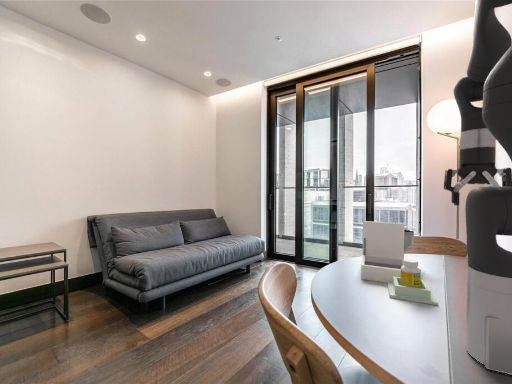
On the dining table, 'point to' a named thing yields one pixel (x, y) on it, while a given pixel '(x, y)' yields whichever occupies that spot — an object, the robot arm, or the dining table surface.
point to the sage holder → (411, 292)
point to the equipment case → (382, 251)
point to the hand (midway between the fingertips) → (475, 206)
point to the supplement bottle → (410, 273)
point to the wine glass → (408, 238)
